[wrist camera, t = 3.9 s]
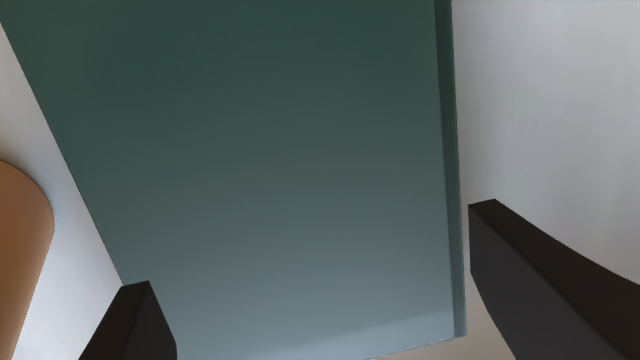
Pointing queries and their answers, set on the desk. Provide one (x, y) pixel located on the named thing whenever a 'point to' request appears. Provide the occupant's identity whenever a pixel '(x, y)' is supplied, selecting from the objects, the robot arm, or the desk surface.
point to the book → (264, 164)
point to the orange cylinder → (20, 250)
